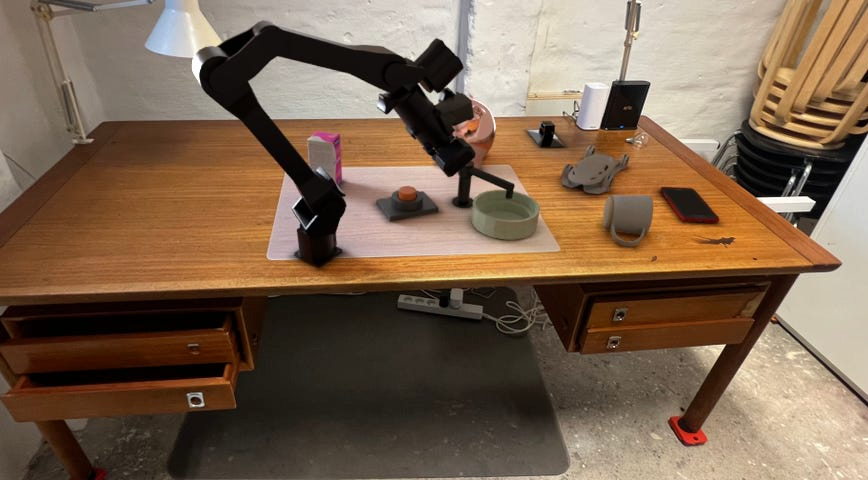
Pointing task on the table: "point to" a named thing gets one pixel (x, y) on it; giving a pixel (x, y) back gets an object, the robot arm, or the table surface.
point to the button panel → (406, 206)
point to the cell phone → (689, 205)
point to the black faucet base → (463, 194)
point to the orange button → (407, 193)
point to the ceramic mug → (628, 216)
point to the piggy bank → (478, 131)
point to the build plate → (546, 136)
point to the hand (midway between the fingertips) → (459, 168)
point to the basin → (505, 214)
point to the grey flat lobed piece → (593, 172)
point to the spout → (487, 178)
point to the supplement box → (326, 153)
